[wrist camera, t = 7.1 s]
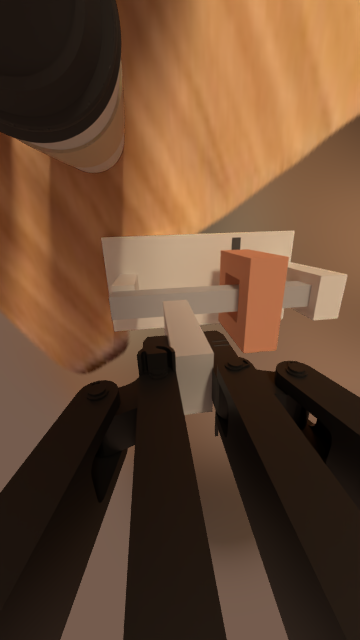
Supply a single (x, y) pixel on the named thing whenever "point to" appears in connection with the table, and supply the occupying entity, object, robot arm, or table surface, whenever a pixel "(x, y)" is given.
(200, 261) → the rail
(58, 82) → the coffee cup
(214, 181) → the table surface
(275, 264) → the notched orange block
